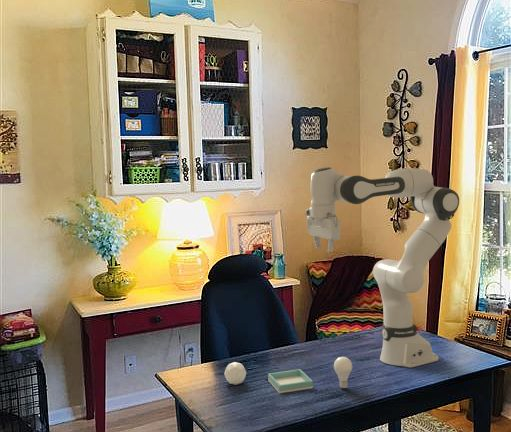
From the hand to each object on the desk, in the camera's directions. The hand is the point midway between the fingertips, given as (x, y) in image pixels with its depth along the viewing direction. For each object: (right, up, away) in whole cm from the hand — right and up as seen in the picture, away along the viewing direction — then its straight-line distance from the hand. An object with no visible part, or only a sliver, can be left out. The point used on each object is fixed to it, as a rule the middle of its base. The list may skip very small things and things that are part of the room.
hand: (324, 249), depth 212 cm
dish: (-13, -48, -7) cm, 50 cm away
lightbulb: (+5, -48, -12) cm, 49 cm away
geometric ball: (-32, -48, -5) cm, 58 cm away
